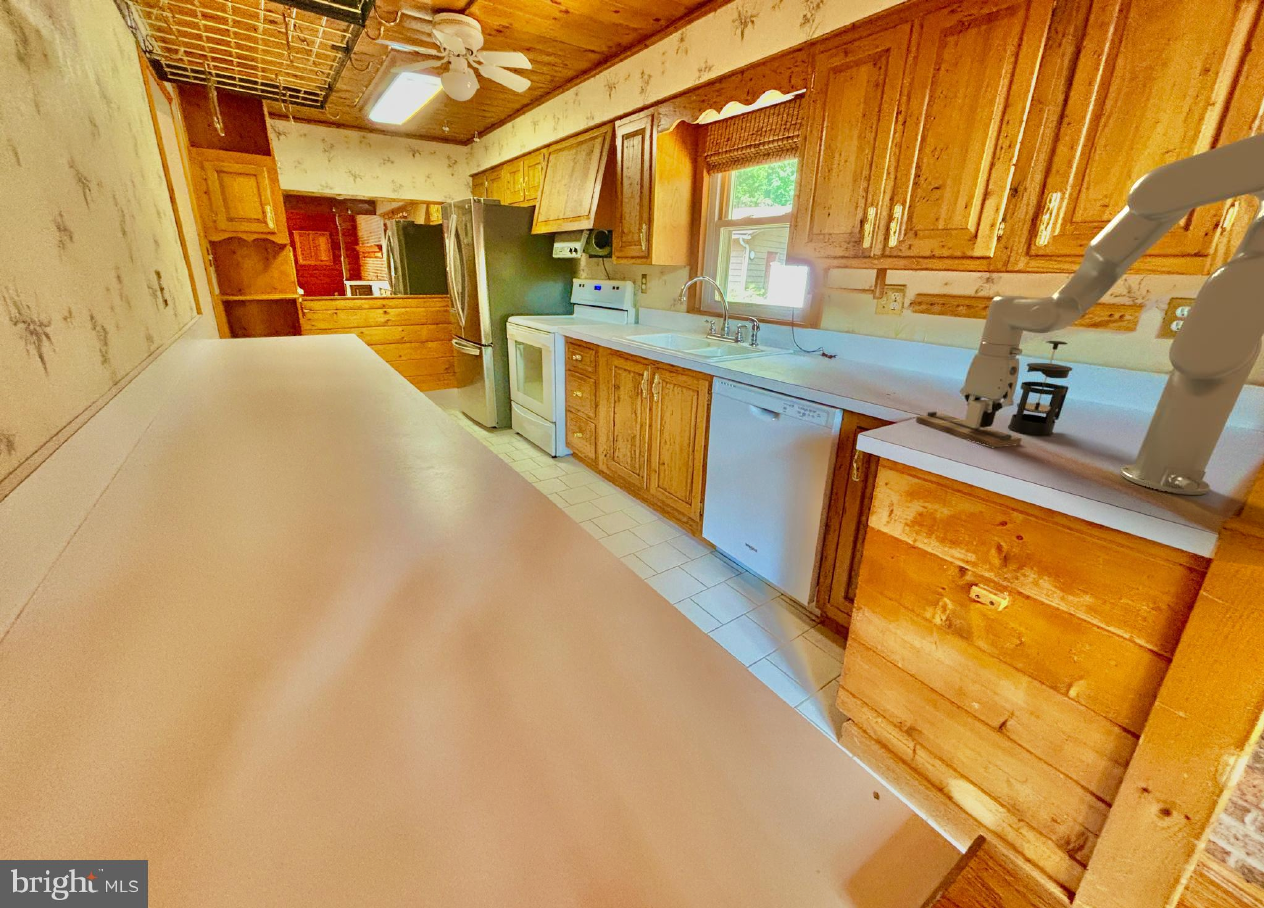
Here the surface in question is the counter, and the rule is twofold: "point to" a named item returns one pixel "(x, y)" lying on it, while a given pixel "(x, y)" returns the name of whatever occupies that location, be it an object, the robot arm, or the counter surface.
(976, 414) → the fader cap
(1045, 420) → the french press
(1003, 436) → the fader board
